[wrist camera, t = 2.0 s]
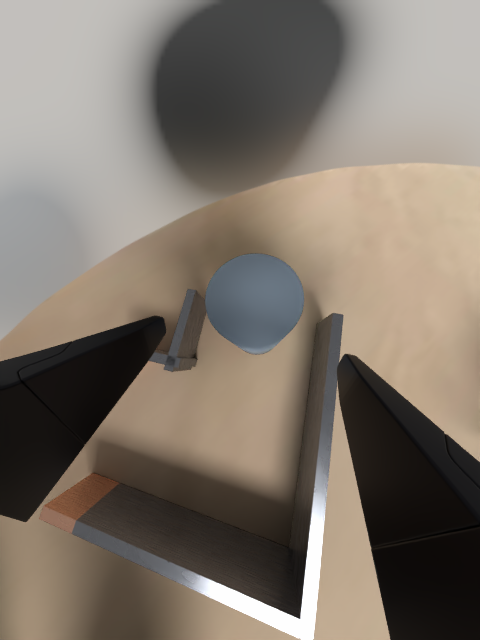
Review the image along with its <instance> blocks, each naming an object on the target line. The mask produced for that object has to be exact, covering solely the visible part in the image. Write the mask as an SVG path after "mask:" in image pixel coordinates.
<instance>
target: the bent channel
mask: <svg viewBox="0 0 480 640" xmlns="http://www.w3.org/2000/svg"><path fill="white" fill-rule="evenodd" d="M205 315H206V305H205V300H204V299H203V298H202V297H201V295H200V294H199V293H198V292H197V291H196V290H192V289H188V290H187V293H186V297H185V300H184V303H183V307H182V310H181V313H180V317H179V320H178V323H177V327H176V330H175V333H174V337H173V340H172V343H171V347H170V350H169V352H165V351H161V350H157V349H156V350H155V352H154V353H153V355H152V357H151V358H150V359H149V361H152V362H156V363H160V364H164V365H165V367H164V370H168V371H172V372H174V371H182V370H191V367H195V366H196V362H197V359H195V358H194V356H195V352H196V349H197V345H198V341H199V337H200V334H201V330H202V326H203V322H204V319H205ZM342 324H343V315H342V314H336V313H332V314H331V315H329V316H328V317H326V318H325V319H323V320H322V321H320V322H318V323H317V328H316V336H315V344H314V352H313V360H312V368H311V376H310V384H309V392H308V400H307V408H306V416H305V424H304V432H303V440H302V448H301V456H300V464H299V473H298V481H297V489H296V497H295V505H294V513H293V521H292V529H291V537H290V545H289V548H288V547H285V546H283V545H280V544H277V543H275V542H272V541H270V540H267V539H264V538H262V537H259V536H257V535H254V534H251V533H249V532H246V531H244V530H241V529H238V528H236V527H233V526H231V525H228V524H225V523H223V522H220V521H217V520H215V519H212V518H210V517H207V516H204V515H202V514H199V513H197V512H194V511H191V510H189V509H186V508H184V507H181V506H178V505H176V504H173V503H171V502H168V501H165V500H163V499H160V498H157V497H155V496H152V495H150V494H147V493H144V492H142V491H139V490H137V489H134V488H131V487H129V486H126V485H124V484H121V483H118V482H116V481H113V480H111V479H108V478H105V477H103V476H100V475H97V474H95V473H92V474H91V475H89V476H88V477H86V478H85V479H83V480H82V481H80V482H79V483H77V484H76V485H74V486H73V487H71V488H70V489H68V490H67V491H65V492H64V493H62V494H61V495H59V496H58V497H56V498H55V499H53V500H52V501H50V502H49V503H47V504H46V505H44V507H43V509H42V512H41V514H40V517H39V519H41V520H43V521H45V522H47V523H50V524H52V525H54V526H56V527H58V528H60V529H63V530H65V531H67V532H69V533H71V534H73V535H76V536H78V537H80V538H82V539H84V540H86V541H89V542H91V543H93V544H95V545H97V546H100V547H102V548H104V549H106V550H108V551H110V552H113V553H115V554H117V555H119V556H121V557H123V558H126V559H128V560H130V561H132V562H134V563H136V564H139V565H141V566H143V567H145V568H147V569H149V570H152V571H154V572H156V573H158V574H160V575H163V576H165V577H167V578H169V579H171V580H173V581H176V582H178V583H180V584H182V585H184V586H186V587H189V588H191V589H193V590H195V591H197V592H199V593H202V594H204V595H206V596H208V597H210V598H212V599H215V600H217V601H219V602H221V603H223V604H226V605H228V606H230V607H232V608H234V609H236V610H239V611H241V612H243V613H245V614H247V615H249V616H252V617H254V618H256V619H258V620H260V621H262V622H265V623H267V624H269V625H271V626H273V627H275V628H278V629H280V630H282V631H284V632H286V633H288V634H291V635H293V636H295V637H297V638H299V639H302V640H313V638H314V627H315V616H316V605H317V594H318V584H319V573H320V562H321V551H322V540H323V530H324V519H325V508H326V497H327V486H328V476H329V465H330V454H331V443H332V432H333V422H334V411H335V400H336V389H337V366H338V364H339V357H340V346H341V335H342Z"/></svg>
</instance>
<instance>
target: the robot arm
mask: <svg viewBox="0 0 480 640" xmlns="http://www.w3.org/2000/svg"><path fill="white" fill-rule="evenodd" d="M165 333H166V326H165V321H164V318H163V317H160V316H152V317H149V318H146V319H142V320H139V321H136V322H133V323H129V324H126V325H123V326H120V327H116V328H113V329H110V330H107V331H103V332H100V333H97V334H94V335H91V336H87V337H84V338H81V339H78V340H74V341H71V342H68V343H65V344H61V345H58V346H55V347H51V348H48V349H44V350H41V351H37V352H34V353H30V354H26V355H23V356H19V357H15V358H11V359H8V360H4V361H0V515H3V516H6V517H10V518H13V519H16V520H20V521H23V522H27V521H28V519H29V518H30V517H31V516H32V515H33V514H34V512H35V511H36V510H37V508H38V507H39V506H40V504H41V503H42V502H43V500H44V499H45V498H46V496H47V495H48V494H49V492H50V491H51V490H52V488H53V487H54V486H55V484H56V483H57V482H58V480H59V479H60V478H61V476H62V475H63V474H64V472H65V471H66V470H67V468H68V467H69V466H70V464H71V463H72V462H73V460H74V459H75V458H76V456H77V455H78V454H79V452H80V451H81V450H82V449H83V447H84V446H85V444H86V443H87V442H88V440H89V439H90V438H91V436H92V435H93V434H94V432H95V431H96V430H97V428H98V427H99V426H100V424H101V423H102V422H103V420H104V419H105V418H106V416H107V415H108V414H109V412H110V411H111V410H112V409H113V407H114V406H115V405H116V403H117V402H118V401H119V399H120V398H121V397H122V395H123V394H124V393H125V391H126V390H127V389H128V387H129V386H130V385H131V383H132V382H133V381H134V379H135V378H136V377H137V375H138V374H139V373H140V371H141V370H142V369H143V367H144V366H145V365H146V363H147V362H148V361H149V359H150V358H151V357H152V355H153V353H154V352H155V350H156V348H157V347H158V345H159V344H160V342H161V340H162V339H163V337H164V335H165ZM337 380H338V391H339V400H340V406H341V411H342V416H343V421H344V425H345V430H346V434H347V439H348V444H349V448H350V453H351V458H352V462H353V467H354V471H355V476H356V481H357V485H358V490H359V495H360V499H361V504H362V509H363V513H364V518H365V522H366V527H367V532H368V536H369V541H370V546H371V551H372V556H373V560H374V565H375V570H376V574H377V579H378V583H379V588H380V593H381V597H382V602H383V607H384V611H385V616H386V620H387V625H388V630H389V634H390V639H391V640H480V462H479V461H478V460H476V459H475V458H474V457H473V456H472V455H470V454H469V453H468V452H467V451H466V450H464V449H463V448H462V447H461V446H460V445H459V444H457V443H456V442H455V441H454V440H453V439H452V438H451V437H449V436H448V435H447V434H445V433H444V431H442V430H441V429H440V428H439V427H438V426H437V425H435V424H434V423H433V422H432V421H431V420H430V419H428V418H427V417H426V416H425V415H424V414H423V413H422V412H420V411H419V410H418V409H417V408H416V407H415V406H413V405H412V404H411V403H410V402H409V401H408V400H406V399H405V398H404V397H403V396H402V395H401V394H399V393H398V392H397V391H396V390H395V389H394V388H393V387H391V386H390V385H389V384H388V383H387V382H386V381H384V380H383V379H382V378H381V377H380V376H379V375H377V374H376V373H375V372H374V371H373V370H372V369H370V368H369V367H368V366H367V365H366V364H365V363H364V362H362V361H361V360H360V359H359V358H358V357H357V356H355V355H350V354H345V355H344V356H343V357H342V359H341V361H340V362H339V364H338V366H337Z"/></svg>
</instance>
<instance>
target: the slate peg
mask: <svg viewBox="0 0 480 640" xmlns="http://www.w3.org/2000/svg"><path fill="white" fill-rule="evenodd" d="M205 305H206V311H207V315H208V318H209V320H210V322H211V324H212V325H213V326H214V328H215V329H216V330H217V331H218V332H219V333H220V334H221V335H222V336H223V337H224V338H226V339H227V340H229V341H230V342H232V343H233V344H235V345H236V346H238V347H239V348H241V349H242V350H244V351H245V352H248V353H250V354H264V353H266V352H268V351H270V350H272V349H273V348H274V347H275V346H276V345H277V344H278V343H279V342H280V341H281V340H282V339H283V338H284V337H285V336H286V335H287V334H288V333H289V332H290V331H291V330H292V329H293V328H294V327H295V325H296V324H297V322H298V320H299V319H300V316H301V314H302V311H303V306H304V292H303V287H302V284H301V282H300V280H299V278H298V276H297V274H296V273H295V272H294V270H293V269H292V268H291V267H290V266H289V265H287V264H286V263H285V262H283V261H282V260H280V259H278V258H276V257H273V256H270V255H266V254H246V255H242V256H238V257H236V258H233V259H231V260H230V261H228V262H226V263H225V264H224V265H222V266H221V267H220V268H219V269H218V270H217V271H216V273H215V274H214V275H213V277H212V278H211V280H210V282H209V284H208V287H207V291H206V297H205Z"/></svg>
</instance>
